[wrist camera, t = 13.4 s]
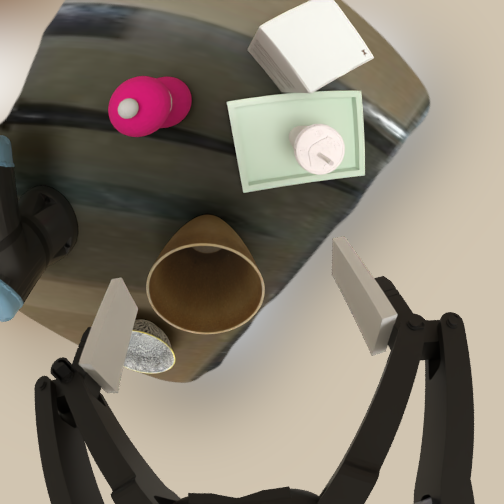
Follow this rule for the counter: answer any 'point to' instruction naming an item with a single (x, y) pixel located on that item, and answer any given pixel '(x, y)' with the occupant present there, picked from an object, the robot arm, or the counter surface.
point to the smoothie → (317, 148)
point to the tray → (277, 135)
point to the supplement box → (308, 47)
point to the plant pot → (205, 279)
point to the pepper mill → (148, 105)
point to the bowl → (148, 349)
